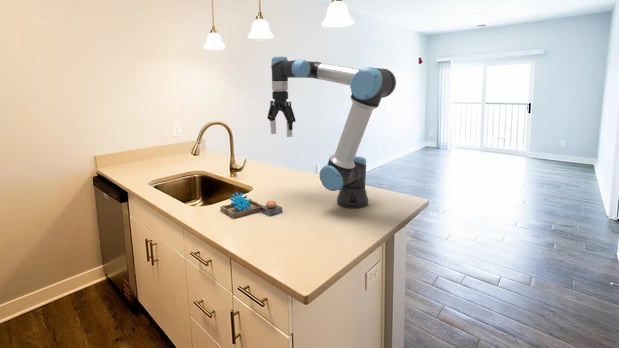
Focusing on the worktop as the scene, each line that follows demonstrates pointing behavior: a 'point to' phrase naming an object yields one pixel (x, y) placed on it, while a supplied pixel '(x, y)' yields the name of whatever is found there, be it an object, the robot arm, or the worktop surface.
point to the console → (271, 210)
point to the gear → (240, 202)
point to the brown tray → (235, 213)
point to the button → (271, 204)
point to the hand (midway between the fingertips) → (281, 135)
